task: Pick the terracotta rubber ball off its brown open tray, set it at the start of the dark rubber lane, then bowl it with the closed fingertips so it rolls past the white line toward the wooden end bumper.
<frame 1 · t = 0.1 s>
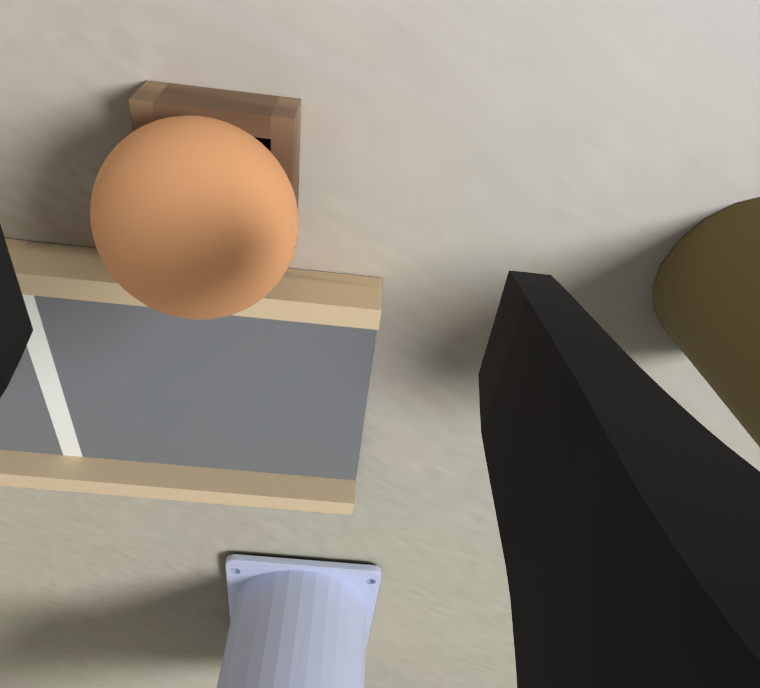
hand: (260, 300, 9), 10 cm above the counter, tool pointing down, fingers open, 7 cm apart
cork: (744, 274, 21), on the counter
brown open tray: (227, 162, 18), on the counter
ball: (199, 220, 16), point 3 cm above the counter, touching brown open tray
lane: (80, 366, 24), on the counter
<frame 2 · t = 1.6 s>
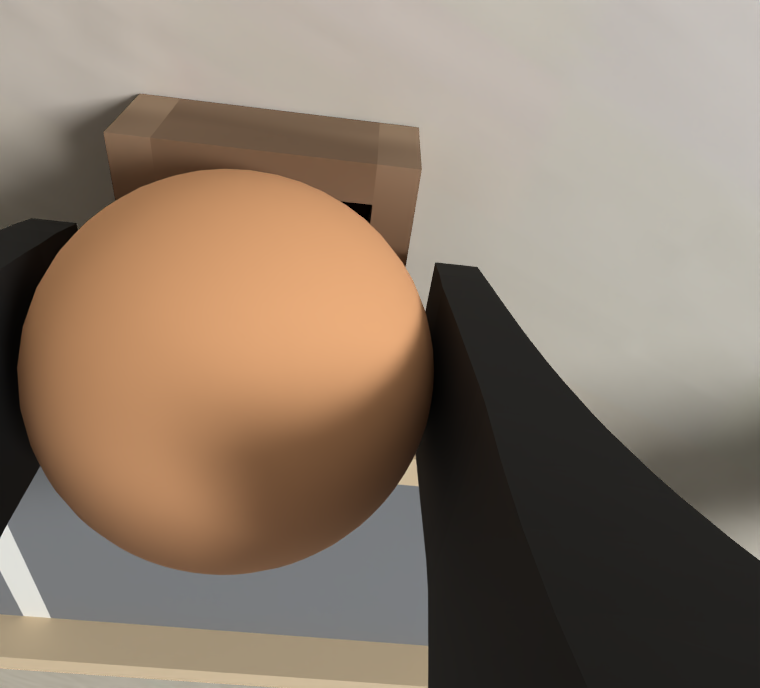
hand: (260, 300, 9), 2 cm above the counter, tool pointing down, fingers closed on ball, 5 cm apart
brown open tray: (279, 232, 11), on the counter
ball: (240, 369, 8), point 3 cm above the counter, touching gripper, brown open tray
lane: (43, 510, 16), on the counter
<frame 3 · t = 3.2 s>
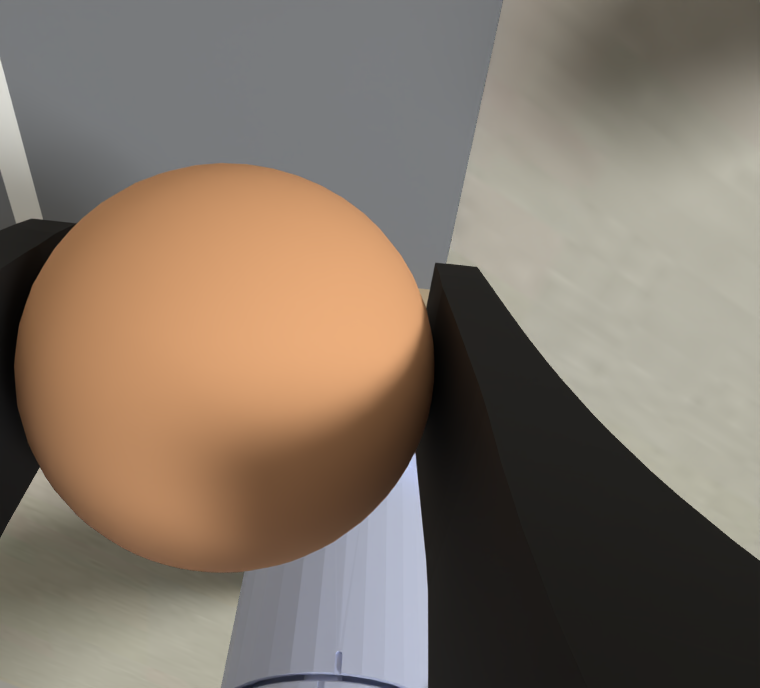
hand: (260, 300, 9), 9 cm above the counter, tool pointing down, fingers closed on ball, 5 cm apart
ball: (239, 365, 8), point 10 cm above the counter, touching gripper
lane: (43, 81, 16), on the counter
when the fingers open (3 cm above the counter, at t = 4.7 s): ball drops 1 cm, resting on lane.
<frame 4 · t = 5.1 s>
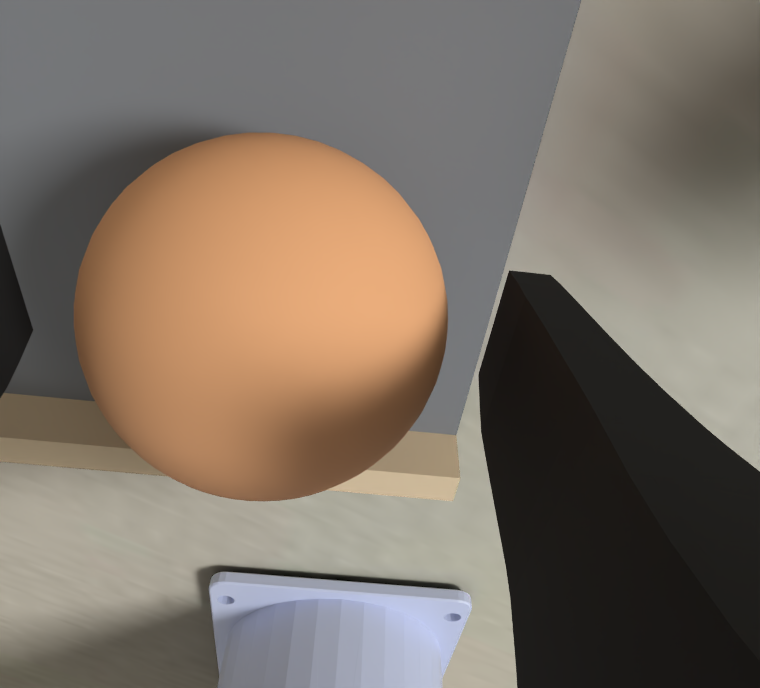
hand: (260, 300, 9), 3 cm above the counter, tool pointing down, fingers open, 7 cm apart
ball: (270, 318, 9), point 3 cm above the counter, tilted 6°, touching lane
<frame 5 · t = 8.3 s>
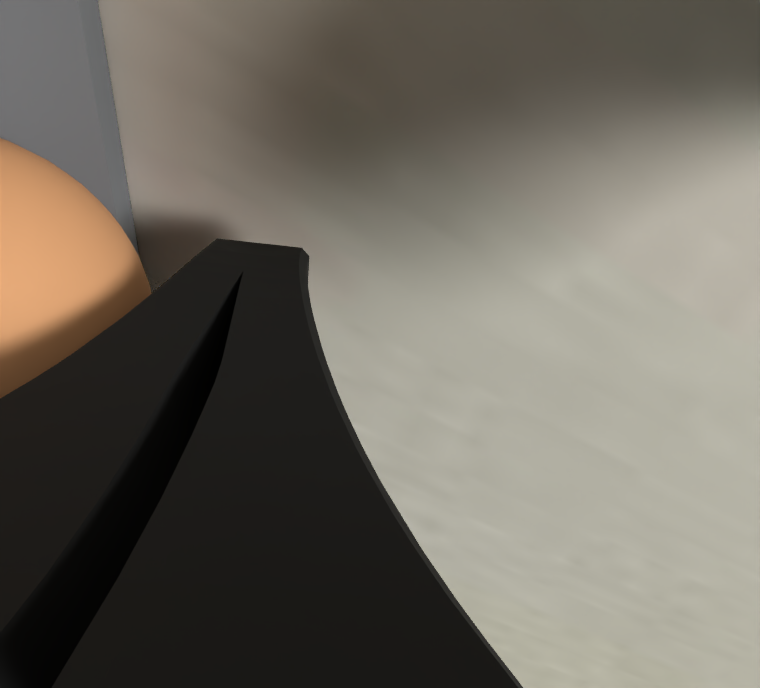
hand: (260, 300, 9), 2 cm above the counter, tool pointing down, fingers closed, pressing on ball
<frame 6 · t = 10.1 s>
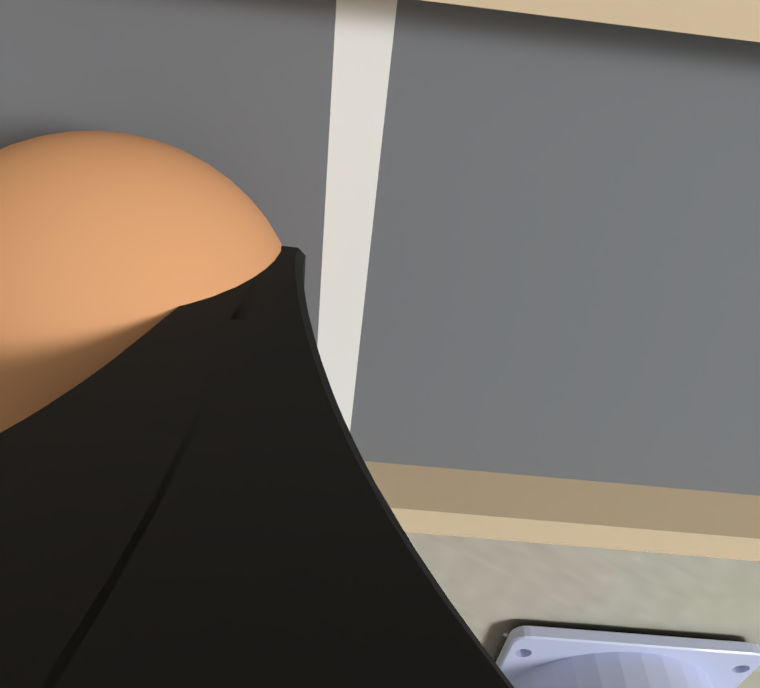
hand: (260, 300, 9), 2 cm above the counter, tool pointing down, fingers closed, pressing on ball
ball: (117, 321, 9), point 3 cm above the counter, tilted 103°, touching gripper, lane
lane: (399, 268, 12), on the counter
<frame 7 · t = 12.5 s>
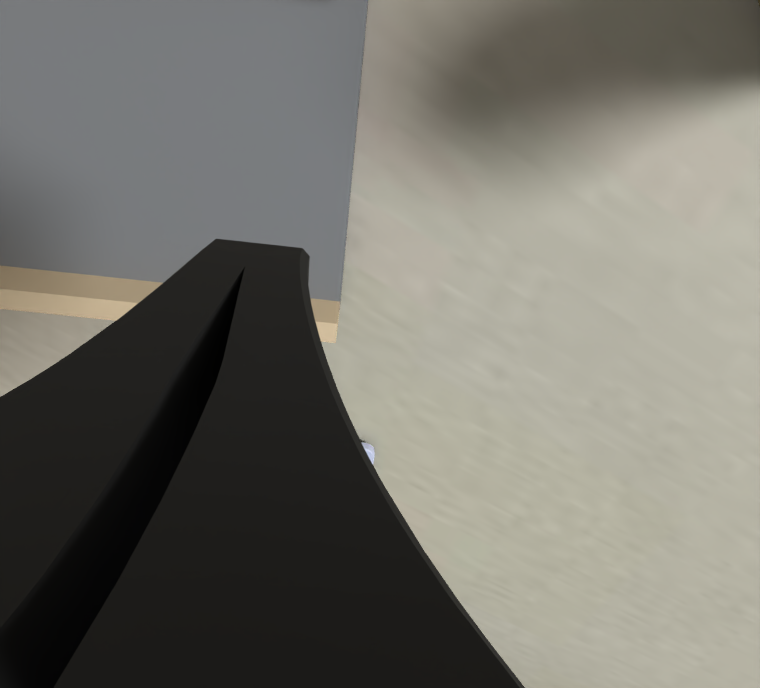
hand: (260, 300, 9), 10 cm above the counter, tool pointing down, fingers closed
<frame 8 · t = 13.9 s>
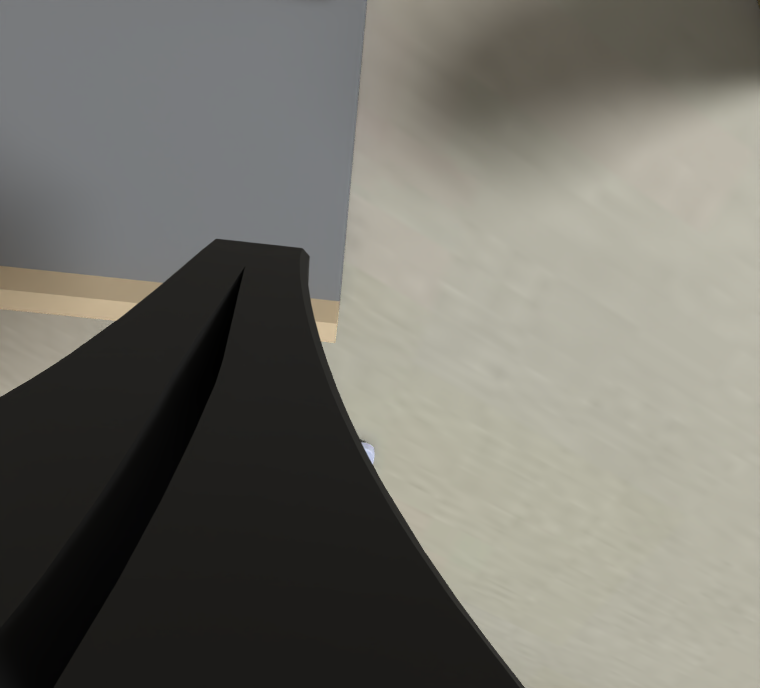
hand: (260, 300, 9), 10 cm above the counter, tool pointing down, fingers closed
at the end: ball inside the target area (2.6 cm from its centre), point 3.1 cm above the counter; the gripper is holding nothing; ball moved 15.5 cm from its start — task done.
